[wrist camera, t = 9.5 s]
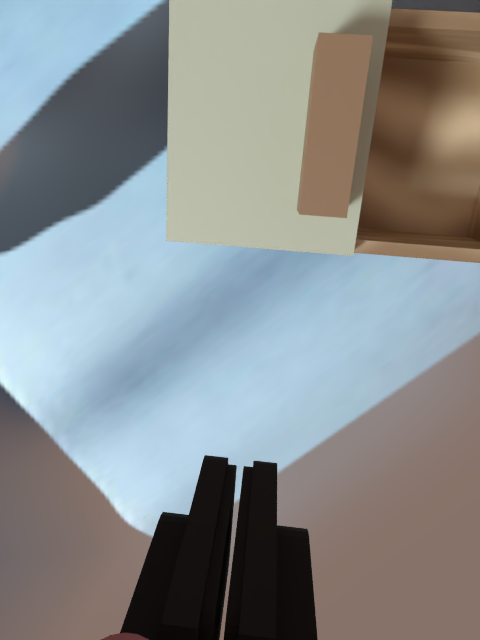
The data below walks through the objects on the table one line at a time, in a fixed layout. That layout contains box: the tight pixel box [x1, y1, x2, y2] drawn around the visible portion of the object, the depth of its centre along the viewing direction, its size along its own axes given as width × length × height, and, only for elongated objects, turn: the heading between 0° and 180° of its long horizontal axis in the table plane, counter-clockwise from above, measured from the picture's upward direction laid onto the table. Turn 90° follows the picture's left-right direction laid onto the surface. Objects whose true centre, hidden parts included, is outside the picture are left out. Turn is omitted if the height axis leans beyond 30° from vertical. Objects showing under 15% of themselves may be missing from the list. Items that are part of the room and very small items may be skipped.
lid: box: [166, 0, 392, 256], centre depth 29 cm, size 16×14×5 cm
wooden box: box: [354, 8, 480, 263], centre depth 35 cm, size 16×14×9 cm
